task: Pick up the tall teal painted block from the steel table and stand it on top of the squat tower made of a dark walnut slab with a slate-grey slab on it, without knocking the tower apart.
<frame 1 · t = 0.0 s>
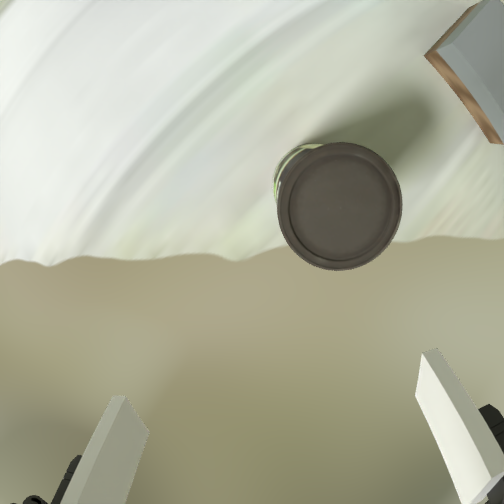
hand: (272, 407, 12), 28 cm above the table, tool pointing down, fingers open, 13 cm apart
coffee can: (314, 185, 36), on the table
grey slab: (496, 68, 25), point 3 cm above the table, touching walnut slab
walnut slab: (481, 71, 29), on the table, touching grey slab
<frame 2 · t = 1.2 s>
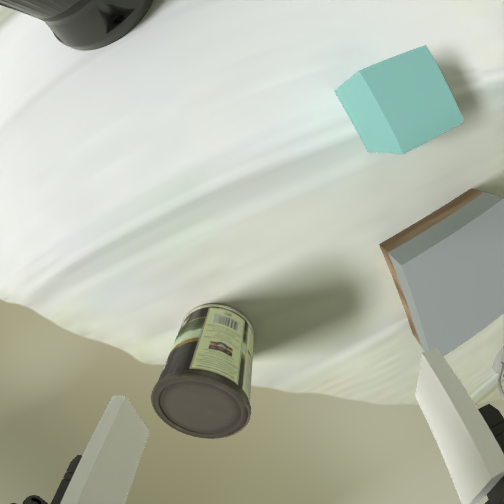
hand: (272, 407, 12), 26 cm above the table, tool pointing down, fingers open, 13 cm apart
coffee can: (217, 335, 41), on the table
grey slab: (456, 273, 33), point 3 cm above the table, touching walnut slab
grey black mug: (500, 356, 42), on the table
walnut slab: (442, 263, 37), on the table, touching grey slab
teal block: (378, 107, 31), on the table
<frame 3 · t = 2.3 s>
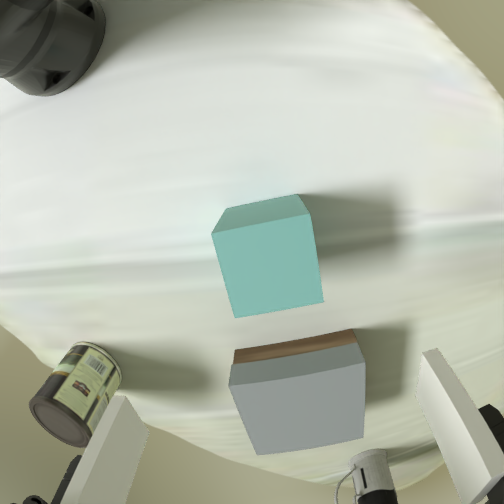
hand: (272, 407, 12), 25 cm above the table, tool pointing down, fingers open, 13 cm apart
coffee can: (95, 365, 44), on the table
grey slab: (302, 397, 39), point 3 cm above the table
grey black mug: (357, 458, 50), on the table
walnut slab: (300, 379, 43), on the table
teal block: (268, 235, 35), on the table
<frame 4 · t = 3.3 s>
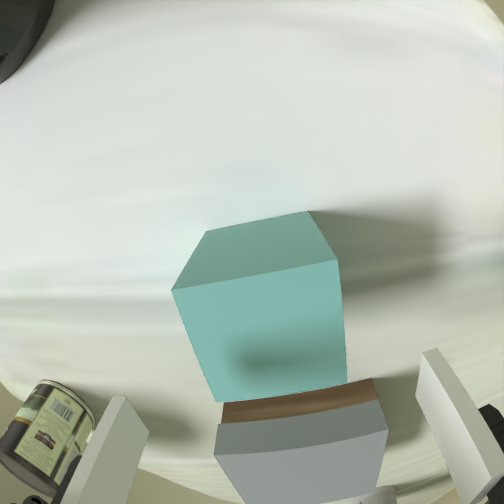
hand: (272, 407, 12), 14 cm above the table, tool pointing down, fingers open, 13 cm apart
coffee can: (65, 405, 34), on the table
grey slab: (305, 454, 29), point 3 cm above the table, touching walnut slab
grey black mug: (363, 495, 41), on the table
walnut slab: (304, 430, 33), on the table, touching grey slab
teal block: (266, 268, 25), on the table
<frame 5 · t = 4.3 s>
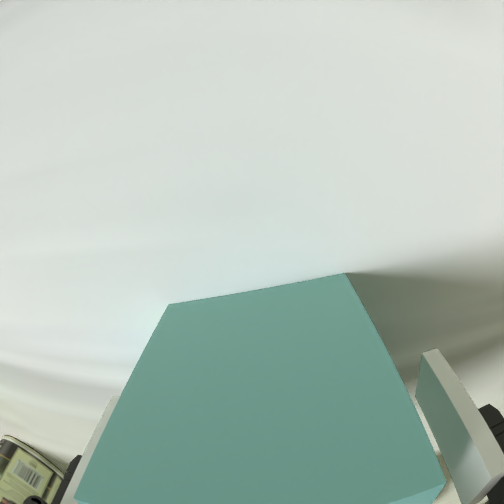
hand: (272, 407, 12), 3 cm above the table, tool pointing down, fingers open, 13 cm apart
coffee can: (35, 460, 23), on the table
teal block: (270, 359, 15), on the table
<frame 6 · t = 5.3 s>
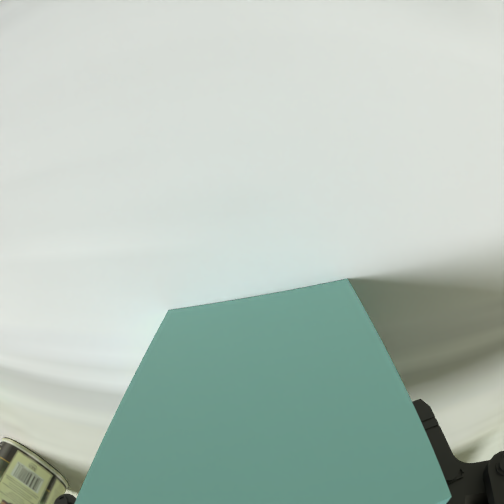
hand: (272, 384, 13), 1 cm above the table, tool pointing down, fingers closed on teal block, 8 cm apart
coffee can: (35, 463, 23), on the table
teal block: (272, 366, 14), on the table, touching gripper
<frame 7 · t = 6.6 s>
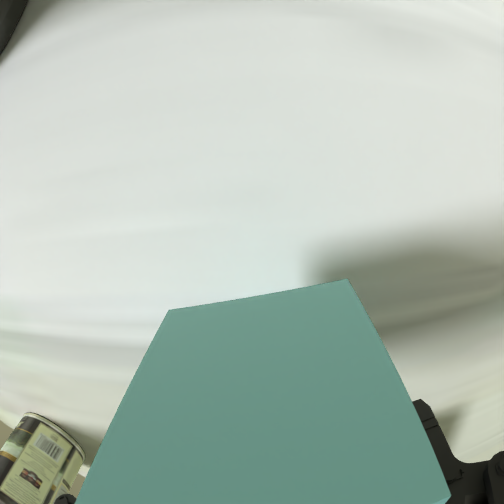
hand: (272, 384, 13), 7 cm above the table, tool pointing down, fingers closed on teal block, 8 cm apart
coffee can: (54, 438, 28), on the table
teal block: (272, 366, 14), point 6 cm above the table, touching gripper
when the fingers open (10 cm above the table, at t = 13.6 s): teal block drops 2 cm, resting on grey slab.
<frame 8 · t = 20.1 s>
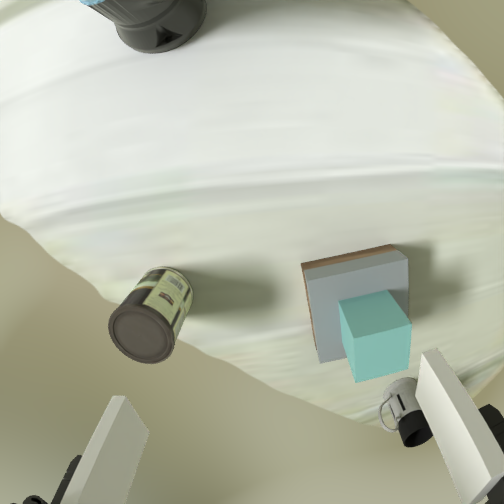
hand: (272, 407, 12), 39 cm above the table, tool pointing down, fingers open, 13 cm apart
coffee can: (166, 292, 54), on the table
grey slab: (357, 303, 49), point 3 cm above the table, touching teal block, walnut slab
grey black mug: (391, 388, 61), on the table
walnut slab: (350, 293, 53), on the table, touching grey slab
teal block: (364, 316, 46), point 7 cm above the table, touching grey slab
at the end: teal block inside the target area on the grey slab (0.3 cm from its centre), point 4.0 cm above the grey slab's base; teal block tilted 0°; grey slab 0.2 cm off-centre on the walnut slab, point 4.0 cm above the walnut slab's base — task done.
